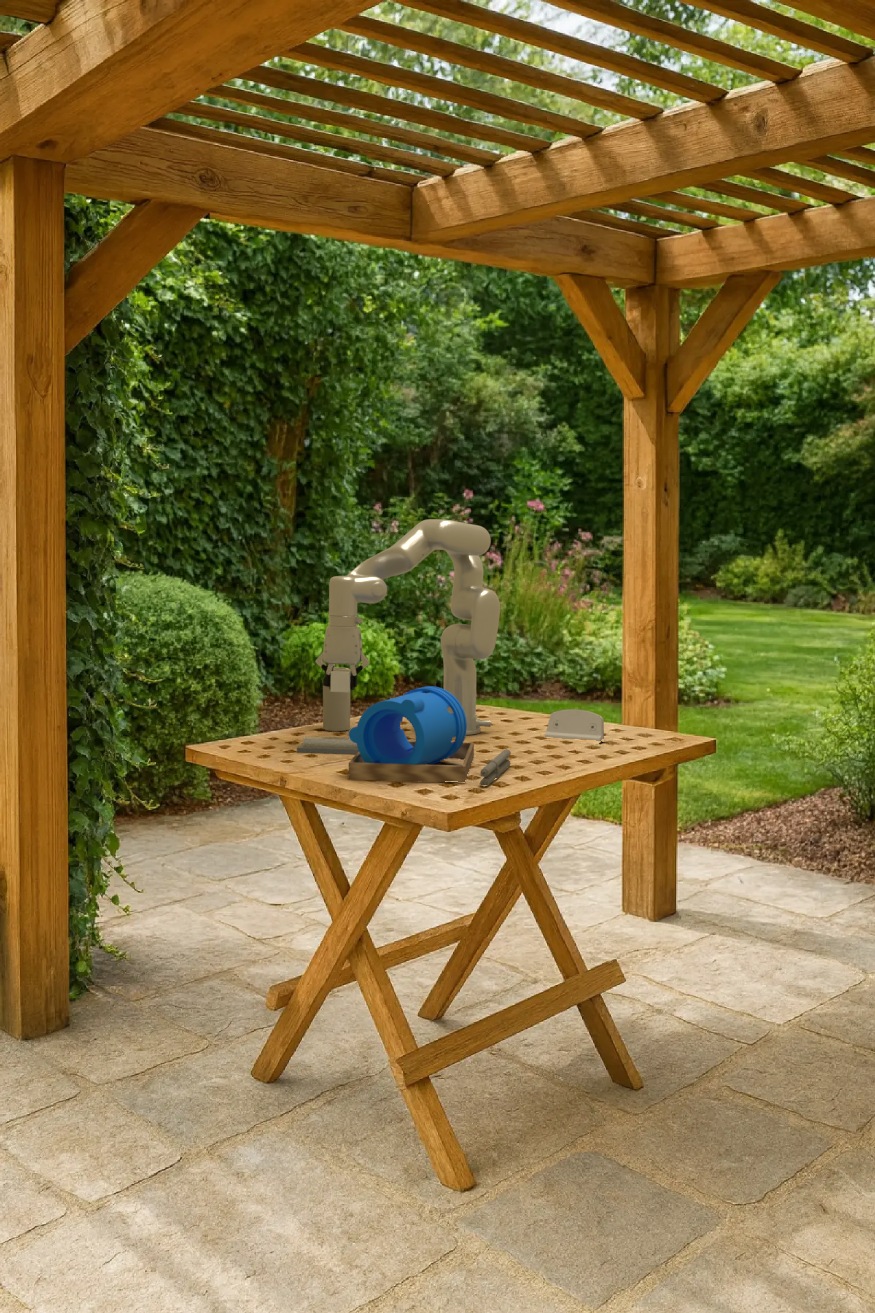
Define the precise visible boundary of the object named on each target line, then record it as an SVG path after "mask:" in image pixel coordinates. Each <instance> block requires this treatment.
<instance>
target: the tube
mask: <svg viewBox="0 0 875 1313" xmlns="http://www.w3.org/2000/svg"><path fill="white" fill-rule="evenodd" d="M449 706H450V707H451V709H452V711H453V713H452V714H450V713H449V712H448V710H447V707H449ZM403 718H405V719H406V720H407V721H408V722H409V723H410V724H411V726H412V728H413V731H414V735H415V741H416V742H415V746H414V749H413V746H412V745H411V744H410V743H409V741H410V740H408V738H407V736H406V733H405V730H404V729H402V728H401V723H402V722H403ZM348 731H349V732H348V736H349V737H348V738H350V740H351V741H352V742H354V743H357V747H358V750H359V753H360V755H361V757H362V758H363V760H364V761H365V762H366V763H387V764H413V765H417V764H419V765H435V764H436V763H440V762H442V761H444V760H447V759H450V758H449V757H451V756H452V755H454V754H455V753H456V752H457V751H458V750H459V748H460V747H461V746H462V744H463V742H465V739H466V736H467V735H466V731H467V721H466V716H465V712H464V710H463V708H462V706H461V704H460V702H459V701H458V700H457V699H456V698H455V697H454V696H453V695H452V694H451V693H450V692H448V691H446V690H444V688H442V687H438V686H432V685H431V686H430V685H428V686H422V687H418V688H414V689H412V690H409V691H407V692H405V693H404V694H402V695H400V696H397V697H393V698H390V699H386V700H385V699H384V700H381V701H379V702H376V703H373V704H372V705H370V706H369V707H368V708H366V709H365V711H364V712H363V713H362V715H360V717H359V720H358V723H357V726H354V727H352V728H350V729H349V730H348ZM453 738H455V739H454V741H453ZM451 742H452V743H451ZM412 749H413V750H412Z"/></svg>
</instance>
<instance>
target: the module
mask: <svg viewBox="0 0 875 1313" xmlns="http://www.w3.org/2000/svg"><path fill="white" fill-rule="evenodd" d="M349 669H350V668H348V669H335V670H333V671H331V692H349V691H350V692H351V690H350V676H351V675H352V671H351V669H350V670H349Z"/></svg>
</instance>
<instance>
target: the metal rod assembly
mask: <svg viewBox="0 0 875 1313" xmlns="http://www.w3.org/2000/svg"><path fill="white" fill-rule="evenodd" d="M511 754H512V753H511V750H510V749H509V748H506V749H503V750H502V751H501V752H499V754H498V755H497V756H496V757H494V758H493V759H491V760H488V762H487V764H486V765H485V766H483V768H482V769H480V772H479V773H480V776H481V777H483V778H482V779H481V780H480V783H479V784H480V786H481V785H488V786H489V785H490V784H491V783H492V782H494V781H495V780H494V779H495V778H497V779H498V778H499V777H500V775H501V774H503V773H504V772H505V771H506V770H507V769H508V768H509V767H510V766H511V760H510V759H508V758H509V757H510V756H511Z"/></svg>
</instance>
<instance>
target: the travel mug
mask: <svg viewBox="0 0 875 1313" xmlns="http://www.w3.org/2000/svg"><path fill="white" fill-rule="evenodd" d="M335 669H349V670H351V668H347V667H339V666H337V667H336V666H334V669H333V670H335ZM324 675H325V676H324V678H323V679H322V680H323V681H322V729H323V730H324V729H325V730H324V731H326V730H327V732H332V731H341V732H346V730H347V731H350V730H351V690H350V691H349V692H331V690H330V689H329V687H330V686H328V675H327V674H326V672H325V671H324Z"/></svg>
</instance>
